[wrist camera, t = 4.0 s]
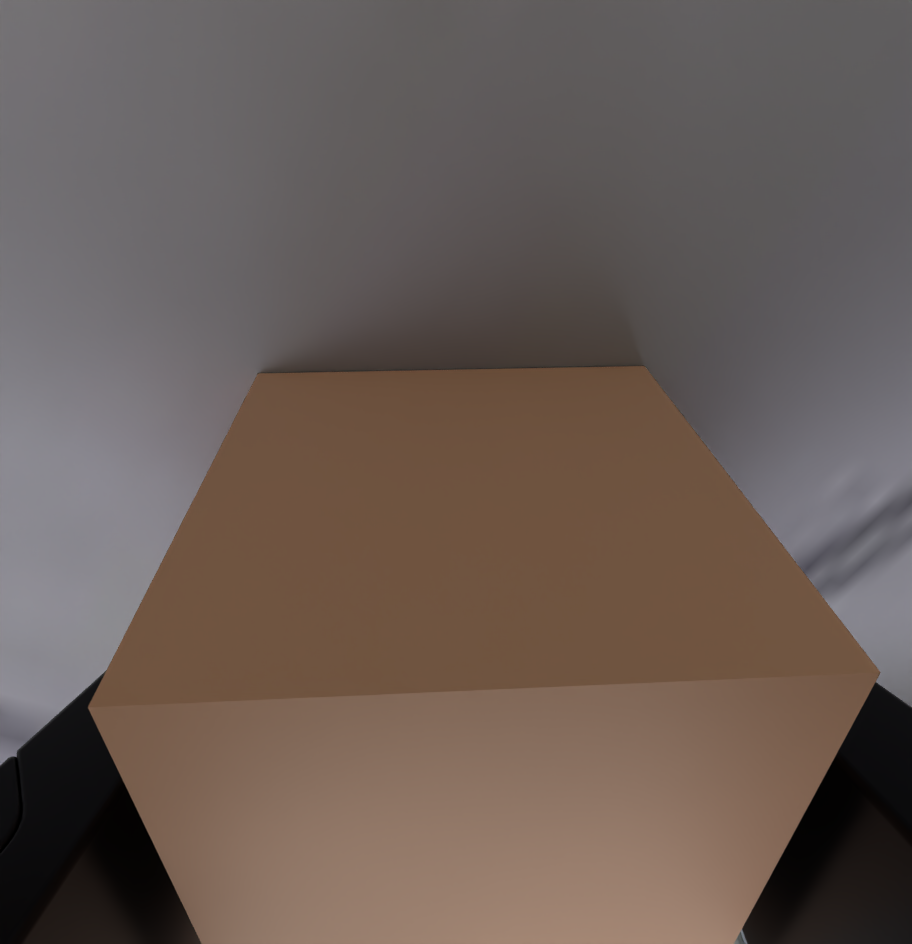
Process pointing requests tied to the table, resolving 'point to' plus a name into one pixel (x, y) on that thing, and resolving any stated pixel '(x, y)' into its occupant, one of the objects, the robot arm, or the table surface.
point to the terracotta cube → (474, 670)
